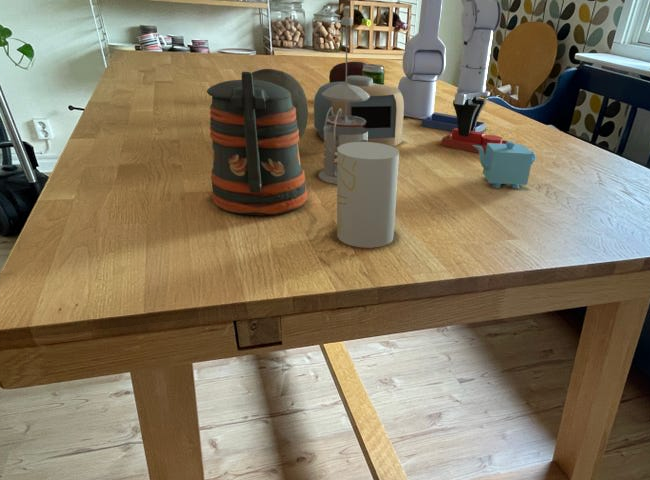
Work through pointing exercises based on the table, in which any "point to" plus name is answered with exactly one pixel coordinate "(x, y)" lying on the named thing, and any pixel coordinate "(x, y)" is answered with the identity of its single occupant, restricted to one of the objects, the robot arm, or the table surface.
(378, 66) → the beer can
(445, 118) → the blue spoon
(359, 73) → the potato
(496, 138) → the red spoon
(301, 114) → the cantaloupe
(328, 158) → the french press
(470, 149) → the red tray
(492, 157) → the teapot
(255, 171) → the tankard
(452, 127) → the blue tray
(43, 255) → the table surface
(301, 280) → the table surface
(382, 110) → the alarm clock
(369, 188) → the cup
